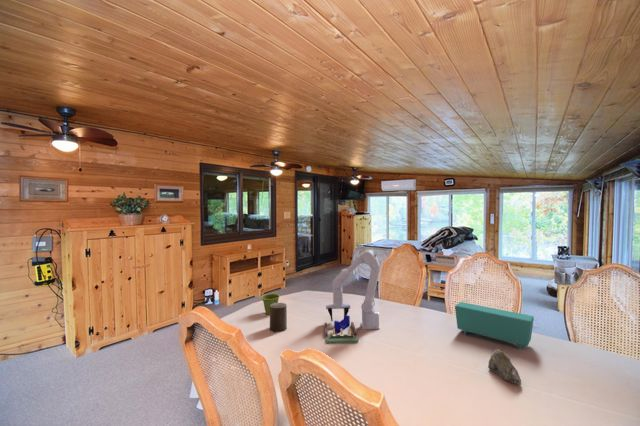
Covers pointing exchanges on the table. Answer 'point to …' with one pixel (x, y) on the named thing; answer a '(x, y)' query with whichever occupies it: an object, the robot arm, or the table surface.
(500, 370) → the mineral rock
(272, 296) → the plant pot
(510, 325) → the radio
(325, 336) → the guide rails
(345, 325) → the cable clip
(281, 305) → the pillar candle
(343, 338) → the header board
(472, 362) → the table surface
